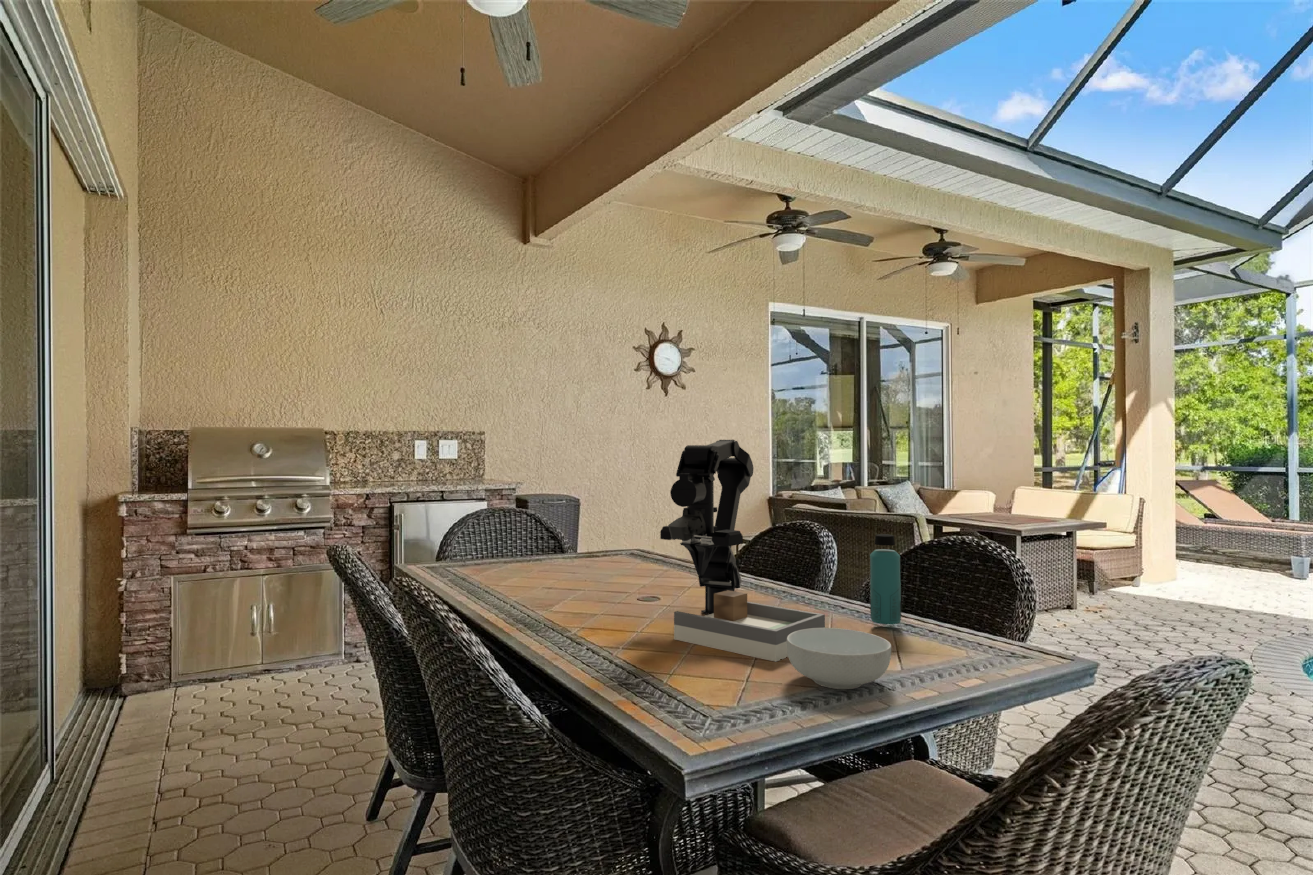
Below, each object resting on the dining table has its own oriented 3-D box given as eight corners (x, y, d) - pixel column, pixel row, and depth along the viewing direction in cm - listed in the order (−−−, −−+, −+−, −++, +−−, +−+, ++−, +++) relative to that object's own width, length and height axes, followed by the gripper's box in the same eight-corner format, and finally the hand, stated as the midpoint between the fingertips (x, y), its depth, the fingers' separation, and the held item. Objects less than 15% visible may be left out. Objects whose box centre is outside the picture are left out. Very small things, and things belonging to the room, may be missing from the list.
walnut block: (713, 617, 160) (713, 593, 160) (727, 613, 164) (727, 590, 164) (733, 621, 157) (733, 596, 157) (747, 617, 161) (747, 593, 161)
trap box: (674, 639, 154) (674, 611, 154) (726, 623, 168) (726, 598, 168) (775, 661, 139) (775, 631, 139) (824, 642, 152) (824, 614, 152)
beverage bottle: (905, 631, 161) (905, 536, 161) (873, 631, 161) (873, 536, 161) (896, 624, 167) (896, 532, 167) (865, 624, 167) (865, 532, 167)
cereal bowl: (815, 703, 117) (815, 656, 117) (770, 671, 133) (770, 630, 133) (912, 693, 121) (912, 648, 121) (857, 664, 137) (857, 624, 137)
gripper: (643, 503, 166) (643, 575, 166) (712, 508, 154) (712, 586, 154) (676, 499, 174) (676, 568, 174) (744, 504, 162) (744, 578, 162)
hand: (700, 575), depth 166 cm, fingers closed
